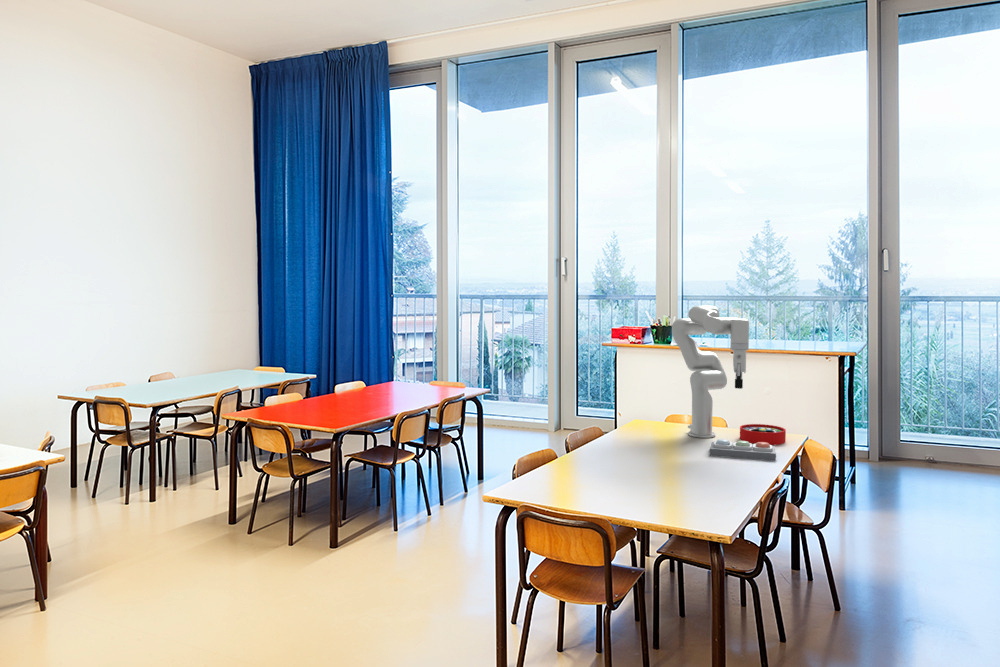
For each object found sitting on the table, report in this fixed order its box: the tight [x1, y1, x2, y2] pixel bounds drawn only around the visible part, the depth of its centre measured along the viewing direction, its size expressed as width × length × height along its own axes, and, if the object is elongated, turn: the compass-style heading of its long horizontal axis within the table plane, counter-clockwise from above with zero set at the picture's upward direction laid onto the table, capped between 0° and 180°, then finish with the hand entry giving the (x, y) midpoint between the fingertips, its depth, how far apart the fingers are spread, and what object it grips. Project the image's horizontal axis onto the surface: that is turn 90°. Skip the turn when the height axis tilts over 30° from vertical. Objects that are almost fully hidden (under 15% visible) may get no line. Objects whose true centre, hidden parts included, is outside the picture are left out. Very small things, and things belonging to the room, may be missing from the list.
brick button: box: [756, 442, 769, 448], centre depth 287 cm, size 5×5×2 cm
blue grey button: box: [716, 438, 730, 445], centre depth 293 cm, size 5×5×2 cm
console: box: [709, 440, 777, 462], centre depth 290 cm, size 26×14×4 cm, turn 69°
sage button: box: [736, 440, 749, 447], centre depth 290 cm, size 5×5×2 cm
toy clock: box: [739, 423, 787, 446], centre depth 318 cm, size 20×6×20 cm
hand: (738, 388), depth 299 cm, fingers closed
